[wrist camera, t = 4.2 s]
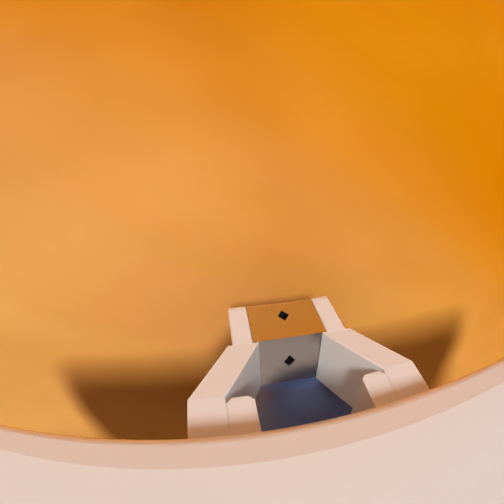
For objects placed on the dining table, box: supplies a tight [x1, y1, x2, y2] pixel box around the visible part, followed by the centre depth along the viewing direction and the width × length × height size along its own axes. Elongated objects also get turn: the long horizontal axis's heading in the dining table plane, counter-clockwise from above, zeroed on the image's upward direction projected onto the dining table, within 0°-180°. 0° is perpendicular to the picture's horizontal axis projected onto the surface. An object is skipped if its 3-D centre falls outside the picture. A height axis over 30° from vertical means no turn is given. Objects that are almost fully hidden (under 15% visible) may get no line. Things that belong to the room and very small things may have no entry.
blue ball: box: [255, 377, 353, 431], centre depth 11 cm, size 6×6×6 cm
